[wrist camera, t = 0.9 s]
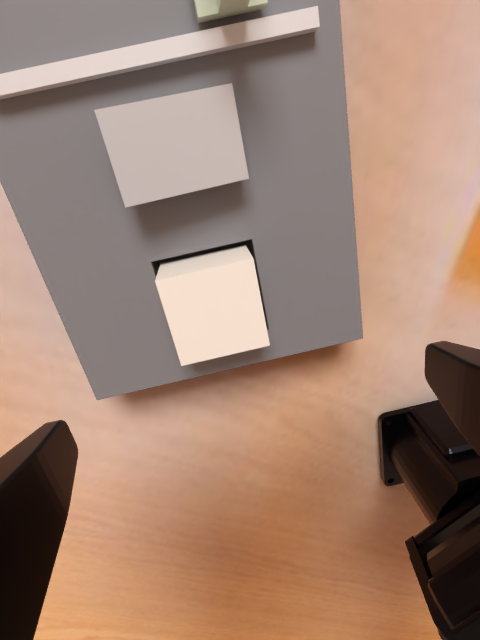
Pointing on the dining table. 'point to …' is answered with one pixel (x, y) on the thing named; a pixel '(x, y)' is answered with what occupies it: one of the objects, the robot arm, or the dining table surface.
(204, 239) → the console
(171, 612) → the dining table surface
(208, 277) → the push button
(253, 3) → the slide paddle
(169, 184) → the pale grey slab
